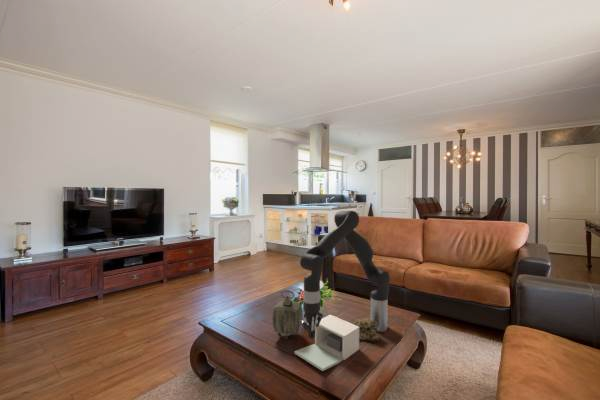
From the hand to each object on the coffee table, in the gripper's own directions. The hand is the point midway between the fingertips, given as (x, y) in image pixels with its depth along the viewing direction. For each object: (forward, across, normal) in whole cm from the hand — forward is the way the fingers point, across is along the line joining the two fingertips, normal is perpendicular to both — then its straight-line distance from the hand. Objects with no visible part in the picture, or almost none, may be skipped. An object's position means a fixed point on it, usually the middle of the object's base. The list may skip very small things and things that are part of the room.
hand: (311, 337), depth 122 cm
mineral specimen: (+13, -36, +4) cm, 38 cm away
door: (+11, -11, 0) cm, 16 cm away
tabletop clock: (+13, -7, -24) cm, 28 cm away
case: (+12, -18, 0) cm, 22 cm away
